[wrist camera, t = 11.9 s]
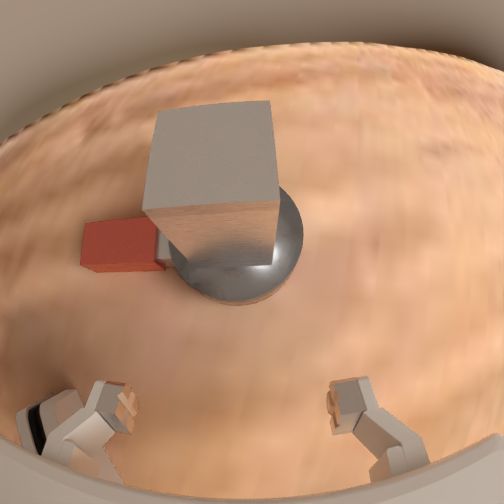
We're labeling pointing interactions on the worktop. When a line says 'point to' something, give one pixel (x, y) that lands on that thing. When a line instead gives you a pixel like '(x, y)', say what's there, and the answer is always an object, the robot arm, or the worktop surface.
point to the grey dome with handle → (166, 254)
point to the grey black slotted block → (49, 418)
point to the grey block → (215, 183)
